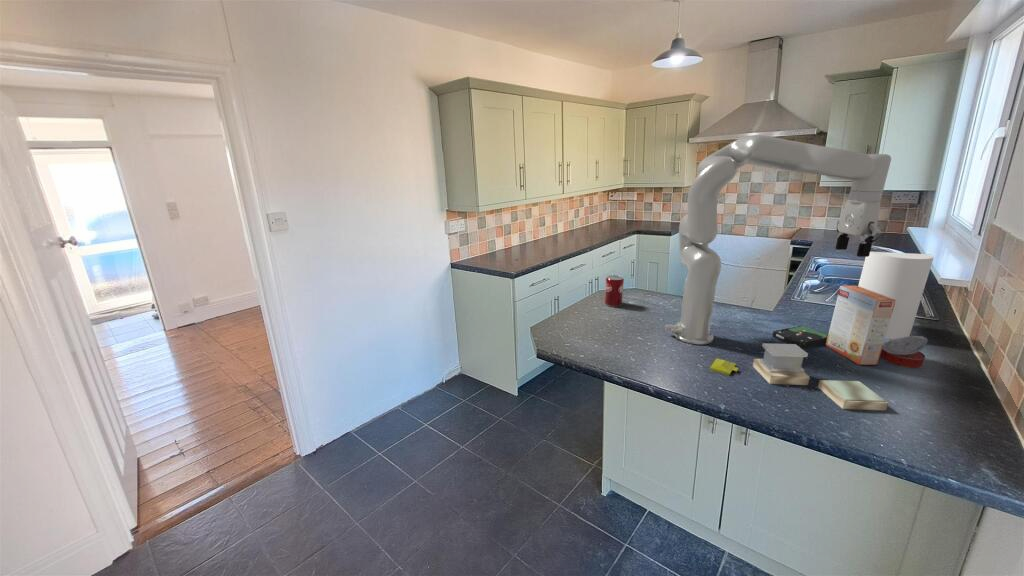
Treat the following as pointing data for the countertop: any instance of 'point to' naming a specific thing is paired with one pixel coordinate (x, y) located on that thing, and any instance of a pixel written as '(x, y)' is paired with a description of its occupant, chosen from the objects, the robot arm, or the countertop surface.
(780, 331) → the disk drive
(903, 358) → the canned food
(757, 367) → the stand
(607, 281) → the soda can
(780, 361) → the housing
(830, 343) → the cracker box
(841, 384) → the stand
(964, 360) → the countertop surface
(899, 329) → the cylinder
